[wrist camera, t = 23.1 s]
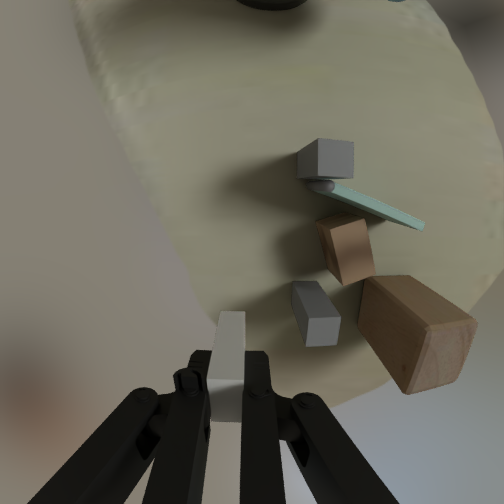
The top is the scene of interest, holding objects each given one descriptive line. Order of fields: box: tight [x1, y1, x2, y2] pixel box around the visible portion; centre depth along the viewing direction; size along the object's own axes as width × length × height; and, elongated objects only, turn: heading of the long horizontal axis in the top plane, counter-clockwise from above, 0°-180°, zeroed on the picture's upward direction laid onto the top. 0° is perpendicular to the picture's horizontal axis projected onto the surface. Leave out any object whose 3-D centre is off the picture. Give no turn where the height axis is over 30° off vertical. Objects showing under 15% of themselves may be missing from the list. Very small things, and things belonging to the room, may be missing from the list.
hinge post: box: [297, 138, 354, 180], centre depth 34 cm, size 4×4×13 cm
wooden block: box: [357, 275, 477, 395], centre depth 36 cm, size 10×10×20 cm
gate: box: [306, 180, 425, 231], centre depth 36 cm, size 15×1×10 cm, turn 72°
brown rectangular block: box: [315, 212, 376, 286], centre depth 39 cm, size 8×5×8 cm, turn 18°
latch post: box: [291, 281, 341, 347], centre depth 38 cm, size 4×4×13 cm
